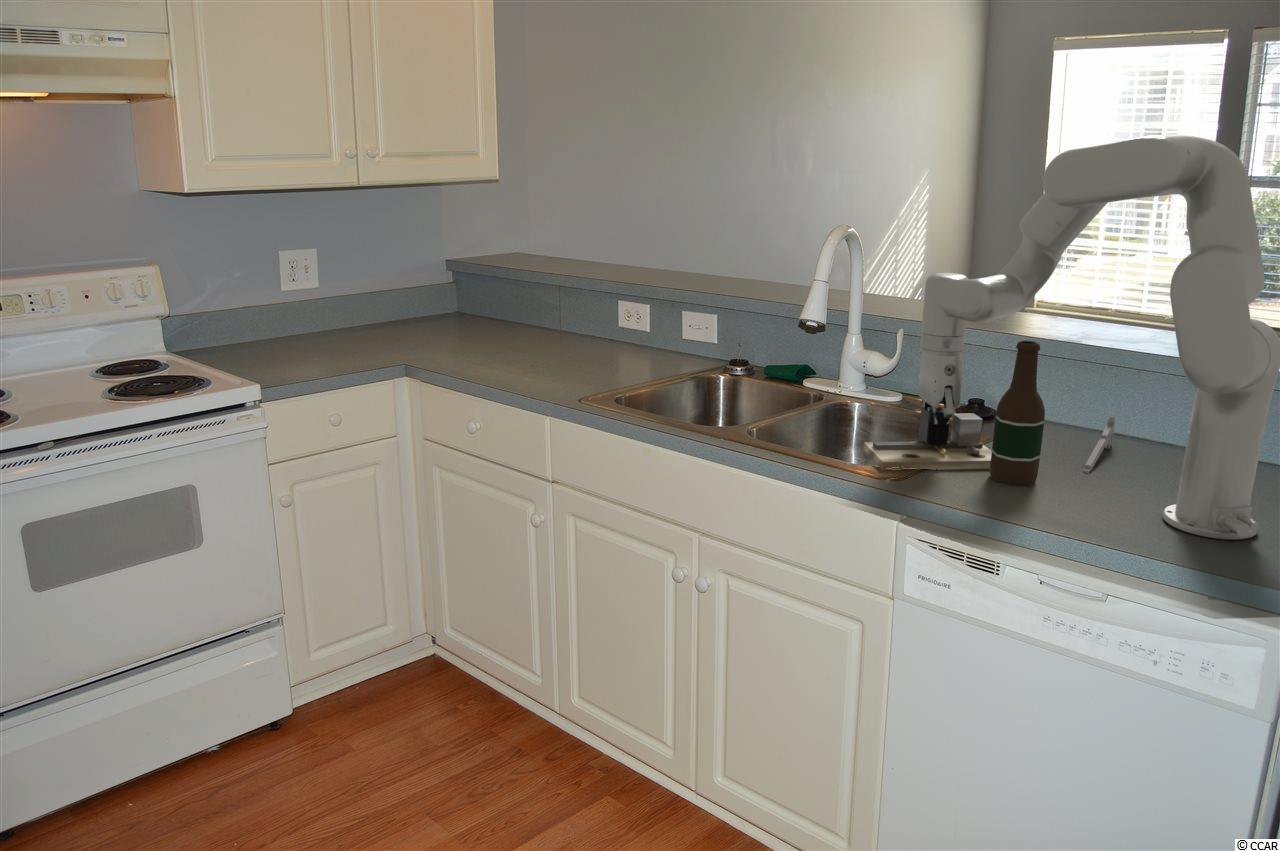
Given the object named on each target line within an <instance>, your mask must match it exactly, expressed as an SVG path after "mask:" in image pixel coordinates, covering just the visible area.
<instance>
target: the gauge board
mask: <svg viewBox="0 0 1280 851" xmlns="http://www.w3.org/2000/svg"><path fill="white" fill-rule="evenodd" d="M951 418H952V420H951V430H950V440H948V443H947V444H946V445H940V446H941V447H943V448H944V449H945V450H946V455H941V454H940V453H941V452H940V451H938V450H937V449H936V448H935V447H934V445H926V444H925V443H924V442H922V441H921V440H919V441H912V440H911V441H863V447H862V450H863V451H864V453H865V454H866V455H867V456H868V457H870V459H871V460H872V461H873V462H874V463H875V464H876V465H877V466H878V467H879V468H880V469H881V468H882V469H881V470H882V471H894V470H893V469H903V468H917V469H929V470H930V469H931V470H935V471H937V470H990V463H991V454H992V449H991V448H989V447H987V446H986V445H985V444H983V443H982V442H981V437H982V427H983V421H984V420H983V418H981V417H980V416H979V415H978V414H975V413H974V412H973V413H971V412H970V413H969V412H967V413H954V414H953V415H952V417H951ZM902 466H903V467H902ZM892 467H899V468H892ZM886 468H892V469H886ZM936 469H937V470H936Z"/></svg>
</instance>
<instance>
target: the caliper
mask: <svg viewBox="0 0 1280 851" xmlns="http://www.w3.org/2000/svg"><path fill="white" fill-rule="evenodd" d="M1115 419H1116V417H1114V416H1109V417H1108V419H1107V424H1106V426H1104V429H1103V431H1102V433H1101V434H1100V438H1099V440H1098V442H1097V443H1096V445H1095V446H1094V449H1093V450H1092V452H1091V453H1090V455H1089V458H1088V459H1087V460H1086V463H1085V464H1084V468H1083V470H1082V473H1084V474H1090V472H1091V471H1092V470H1093V468H1094V467H1095V465H1096V463H1097V461H1099V460H1098V459H1099V458H1100V456H1101V455H1102V452H1103V451H1104V449H1107V448H1108V449H1107V450H1110V449H1111V447H1112V445H1113V442H1114V441H1113V440H1114V434H1115V426H1116V420H1115Z"/></svg>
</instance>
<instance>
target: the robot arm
mask: <svg viewBox="0 0 1280 851" xmlns="http://www.w3.org/2000/svg"><path fill="white" fill-rule="evenodd" d="M1042 189H1043V192H1044V193H1043V194H1042V195H1041V196H1040V197H1039V198H1038V199H1037V201H1036V202H1035V203H1034V204H1033V205H1032V206H1031V208H1030V209H1029V210H1028V211H1027V213H1025V215H1024V216H1023V217H1022V218H1021V220H1020V223H1019V229H1020V232H1021V234H1022V241H1021V244H1020V246H1019V247H1018V249H1017V251H1016V252H1015V254H1014V255H1013V256H1012V258H1011V259H1009V261H1008V262H1007V264H1005V265H1004V267H1002V269H1001V270H1000V271H999V272H998V273H997V274H994V275H990V276H986V277H979V278H968V277H967V275H964V274H961V273H956V272H955V273H954V272H937V273H933V274H931V275H929V276H928V277H927V278H926V280H925V281H926V282H925V288H924V297H923V310H922V321H921V333H920V342H919V351H921V352H922V354H921V358H920V365H919V372H918V373H919V374H918V381H917V394H918V397H919V398H920V399H921V407H933V423H930V434H929V444H930V445H946V444H947V436H948V437H949V433H948V426H949V427H950V421H951V418H952V417H953V414H955V412H954V409H958V408H960V407H961V404H962V388H963V357H962V354H963V353H964V348H965V347H964V346H965V338H966V329H967V328H966V327H967V322H970V323H975V324H980V323H981V324H983V323H987V322H991V321H996V320H998V319H1004V318H1007V317H1011V316H1013V315H1015V314H1016V313H1018V312H1019V311H1021V310H1022V309H1023V308H1024V307H1025V306H1026V305H1027V304H1028V303H1029V302H1030V301H1031V300H1032V299H1033V297H1035V296H1036V295H1037V293H1038V292H1039V291H1040V290H1041V289H1042V288H1043V287H1044V286H1045V285H1046V284H1047V282H1048V281H1049V279H1050V278H1051V276H1052V275H1053V274H1054V272H1055V270H1056V268H1057V267H1058V264H1059V262H1060V261H1061V258H1062V256H1063V254H1064V252H1065V251H1066V249H1068V247H1069V246H1070V245H1071V244H1072V243H1073V242H1074V241H1075V240H1076V239H1077V237H1078V236H1079V235H1080V234H1081V233H1082V232H1083V231H1084V230H1085V228H1086V227H1087V226H1088V225H1089V224H1090V223H1091V222H1092V221H1093V220H1094V218H1096V216H1097V215H1098V214H1099V213H1100V212H1101V211H1102V210H1103V209H1104V208H1105V206H1107V204H1108V203H1115V202H1120V201H1127V200H1135V199H1143V198H1151V197H1153V198H1154V197H1160V196H1161V197H1163V196H1169V195H1180V196H1182V197H1183V198H1184V199H1185V202H1186V217H1185V218H1186V220H1185V222H1186V231H1187V234H1188V240H1189V248H1190V254H1189V255H1187V256H1186V257H1184V258H1183V259H1182V260H1181V261H1180V263H1178V265H1177V267H1176V268H1175V269H1174V271H1173V274H1172V277H1171V282H1170V288H1169V294H1170V295H1169V298H1170V305H1171V311H1172V312H1171V313H1172V319H1173V325H1174V331H1175V339H1176V344H1177V351H1178V357H1179V363H1180V366H1181V369H1182V371H1183V374H1184V375H1185V377H1186V379H1187V380H1188V381H1189V383H1190V384H1191V385H1193V387H1195V388H1196V392H1195V397H1194V400H1193V405H1192V410H1191V417H1190V422H1189V427H1188V433H1187V438H1186V445H1185V451H1184V457H1183V463H1182V468H1181V474H1180V480H1179V486H1178V487H1179V488H1178V491H1177V492H1178V493H1177V499H1176V503H1175V504H1172V505H1169V506H1166V507H1165V508H1164V509H1163V512H1162V513H1163V514H1162V518H1163V520H1164V521H1165V522H1166V523H1168V525H1170V526H1172V527H1173V528H1176V529H1178V530H1180V531H1182V532H1186V533H1189V534H1191V535H1195V536H1201V537H1204V538H1211V539H1217V540H1218V539H1219V540H1230V541H1231V540H1232V541H1233V540H1234V541H1235V540H1245V539H1249V538H1252V537H1254V536H1256V535H1257V534H1258V530H1259V529H1260V524H1259V523H1258V522H1257V521H1255V520H1254V519H1252V514H1253V510H1254V508H1253V507H1252V506H1250V505H1251V499H1252V496H1253V495H1252V494H1253V490H1254V489H1253V488H1254V484H1255V479H1256V473H1257V468H1258V464H1259V463H1258V462H1259V457H1260V454H1261V453H1260V452H1261V449H1262V442H1263V436H1264V432H1265V427H1266V423H1267V422H1266V421H1267V417H1268V412H1269V409H1270V405H1271V400H1272V396H1273V392H1274V389H1275V387H1276V386H1275V385H1276V382H1277V379H1278V376H1279V372H1280V338H1279V335H1278V334H1277V332H1276V330H1274V329H1273V328H1272V327H1271V326H1270V325H1269V324H1267V323H1266V322H1264V321H1261V320H1258V319H1255V318H1251V313H1250V306H1249V305H1250V304H1252V303H1253V302H1254V301H1255V300H1257V299H1258V298H1259V296H1260V295H1261V293H1262V291H1263V290H1264V286H1265V284H1266V283H1265V282H1266V275H1265V268H1264V267H1265V266H1264V264H1263V257H1262V251H1261V244H1260V239H1259V238H1260V236H1259V232H1258V226H1257V225H1258V224H1257V220H1256V216H1255V209H1254V202H1253V196H1252V189H1251V184H1250V179H1249V176H1248V173H1247V170H1246V167H1245V166H1244V164H1243V162H1242V160H1241V159H1240V158H1239V156H1238V155H1237V154H1236V152H1234V151H1233V150H1232V149H1230V148H1229V147H1227V145H1225V144H1222V143H1220V142H1218V141H1215V140H1212V139H1209V138H1205V137H1200V136H1195V135H1194V136H1193V135H1192V136H1191V135H1183V134H1182V135H1181V134H1180V135H1179V134H1172V135H1171V134H1170V135H1165V134H1162V135H1161V134H1158V135H1145V136H1140V137H1134V138H1129V139H1124V140H1119V141H1114V142H1109V143H1104V144H1098V145H1093V146H1085V147H1080V148H1079V147H1078V148H1072V149H1068V150H1066V151H1064V152H1060V154H1058V155H1057V156H1055V157H1054V158H1053V159H1052V160H1051V161H1050V162H1049V164H1048V165H1047V167H1046V168H1045V170H1044V173H1043V176H1042ZM941 404H942V405H943V406H941ZM938 410H943V412H940V413H939V415H938Z"/></svg>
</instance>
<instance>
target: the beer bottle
mask: <svg viewBox="0 0 1280 851" xmlns="http://www.w3.org/2000/svg"><path fill="white" fill-rule="evenodd" d="M1015 348H1016V349H1017V351H1016V352H1017V353H1016V359H1015V363H1014V369H1013V375H1012V380H1011V382H1010V386H1009V388H1008V389H1007V390H1006V391H1005V392H1004V393H1003V395H1002V396H1001V398H1000V400H999V402H998V404H997V407H996V411H995V412H996V413H995V419H994V428H993V438H992V445H991V446H992V447H991V451H992V454H991V463H990V469H989V475H990V477H991V478H992V479H993V480H994V481H995V482H996V483H1000V484H1004V485H1007V486H1014V487H1016V486H1017V487H1018V486H1019V487H1027V486H1030V485H1033V484H1034V483H1036V482H1037V478H1038V474H1039V467H1040V460H1041V452H1042V451H1041V450H1042V444H1043V443H1042V442H1043V437H1044V436H1043V435H1044V428H1045V421H1046V420H1045V418H1046V416H1045V415H1046V410H1045V405H1044V401H1043V399H1042V398H1041V396H1040V394H1039V392H1038V386H1037V385H1038V384H1037V381H1038V380H1037V376H1038V361H1039V360H1038V358H1039V351H1041V344H1040V343H1039V342H1036V341H1033V340H1022V341H1018V342H1017V344H1016V347H1015Z"/></svg>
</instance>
